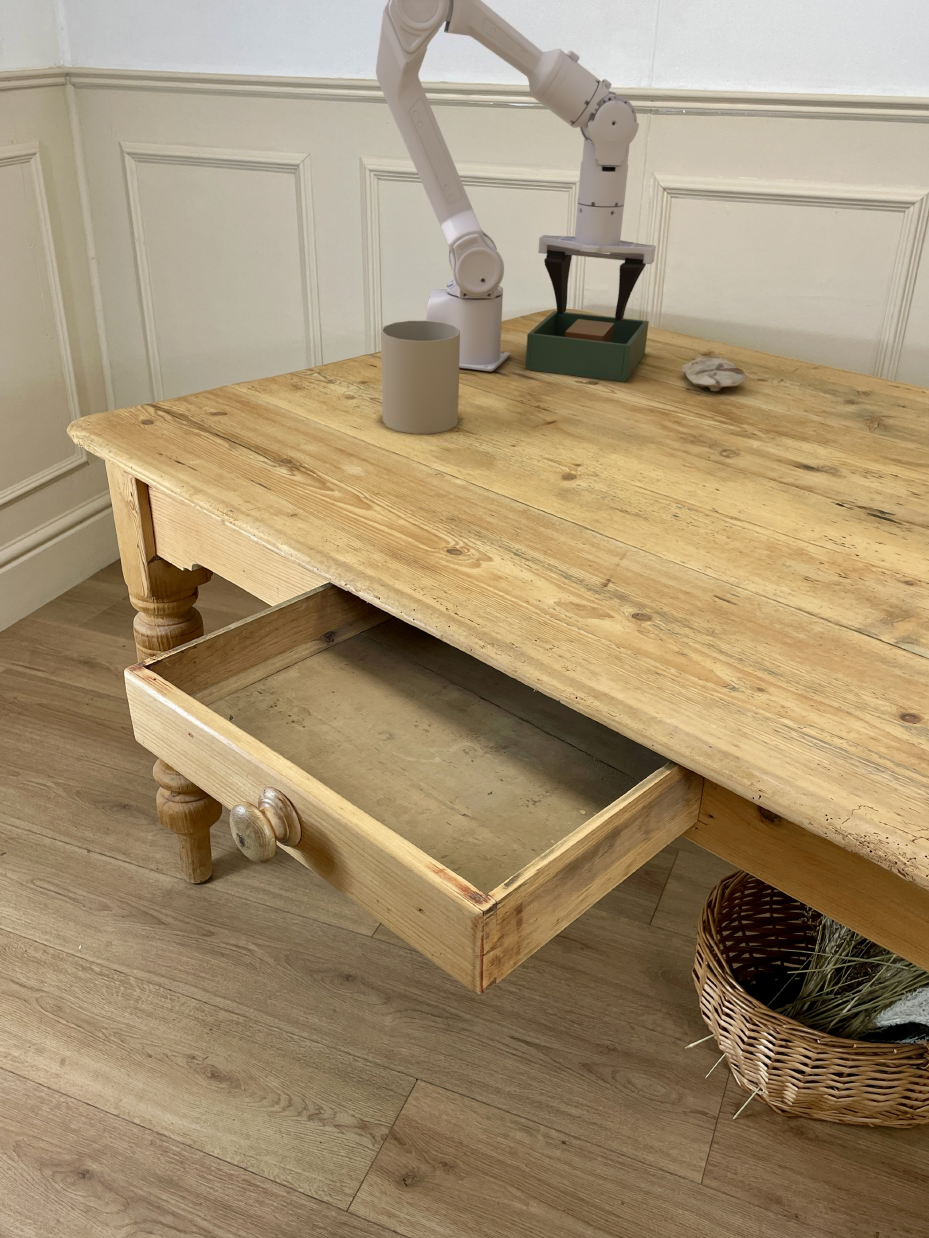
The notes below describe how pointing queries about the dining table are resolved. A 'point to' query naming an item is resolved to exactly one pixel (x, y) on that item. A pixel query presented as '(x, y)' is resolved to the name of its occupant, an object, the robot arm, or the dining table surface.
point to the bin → (586, 348)
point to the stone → (713, 372)
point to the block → (591, 330)
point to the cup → (420, 376)
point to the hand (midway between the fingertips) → (590, 315)
